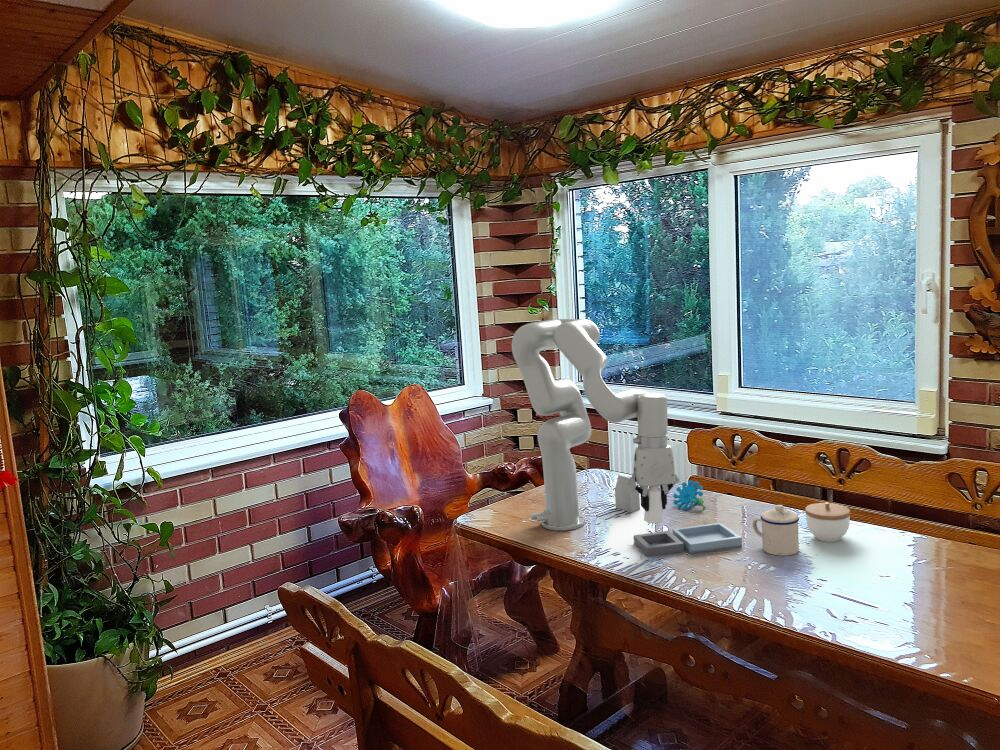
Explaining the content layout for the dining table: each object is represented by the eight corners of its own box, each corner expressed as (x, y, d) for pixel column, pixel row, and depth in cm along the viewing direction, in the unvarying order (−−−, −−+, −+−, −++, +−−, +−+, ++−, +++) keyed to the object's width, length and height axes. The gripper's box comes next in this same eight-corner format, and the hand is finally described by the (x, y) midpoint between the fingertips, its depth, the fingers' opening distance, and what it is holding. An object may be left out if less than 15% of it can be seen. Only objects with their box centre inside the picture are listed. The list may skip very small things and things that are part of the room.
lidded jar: (852, 546, 191) (852, 510, 190) (806, 544, 195) (806, 509, 193) (848, 531, 201) (847, 497, 200) (804, 529, 205) (804, 496, 203)
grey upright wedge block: (631, 512, 229) (629, 480, 227) (615, 507, 234) (614, 476, 233) (640, 509, 231) (638, 477, 229) (624, 504, 236) (622, 473, 235)
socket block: (647, 556, 194) (646, 548, 194) (634, 543, 204) (633, 535, 204) (684, 551, 196) (683, 543, 195) (669, 538, 206) (668, 530, 205)
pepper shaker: (639, 520, 200) (638, 480, 198) (651, 515, 203) (650, 475, 201) (657, 525, 196) (656, 484, 194) (668, 519, 199) (668, 479, 198)
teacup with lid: (806, 548, 192) (805, 504, 190) (788, 559, 186) (787, 514, 184) (762, 538, 201) (761, 495, 199) (744, 548, 195) (743, 504, 193)
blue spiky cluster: (665, 499, 233) (685, 474, 234) (676, 509, 236) (695, 484, 237) (688, 514, 223) (709, 487, 224) (699, 524, 226) (719, 497, 227)
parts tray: (691, 553, 194) (690, 544, 194) (672, 537, 206) (672, 529, 205) (742, 546, 196) (741, 537, 196) (721, 531, 208) (720, 522, 208)
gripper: (626, 447, 191) (628, 516, 194) (689, 441, 194) (689, 510, 197) (617, 440, 198) (618, 507, 201) (677, 434, 201) (678, 500, 204)
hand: (653, 507), depth 199 cm, fingers closed on pepper shaker, 3 cm apart
